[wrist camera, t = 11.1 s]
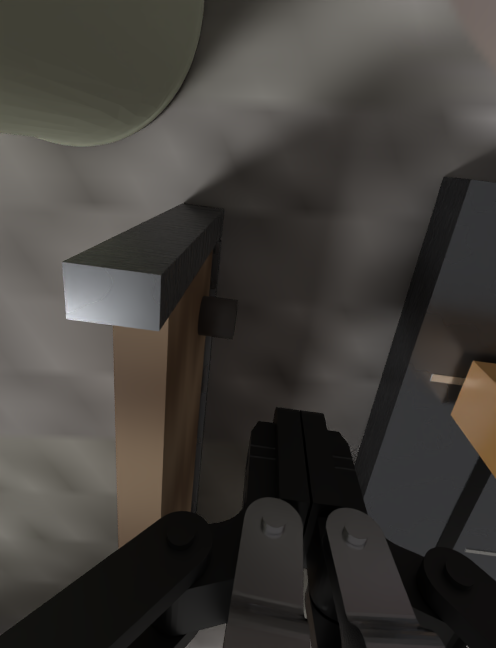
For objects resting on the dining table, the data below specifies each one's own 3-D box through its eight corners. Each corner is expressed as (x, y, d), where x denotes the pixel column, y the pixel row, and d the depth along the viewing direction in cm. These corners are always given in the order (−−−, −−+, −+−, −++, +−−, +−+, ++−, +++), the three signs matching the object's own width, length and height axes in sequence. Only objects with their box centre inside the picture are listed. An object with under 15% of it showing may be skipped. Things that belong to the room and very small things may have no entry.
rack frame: (195, 556, 22) (143, 832, 13) (161, 551, 22) (86, 825, 13) (229, 209, 14) (155, 298, 5) (177, 202, 14) (10, 278, 5)
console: (484, 571, 21) (505, 610, 20) (327, 550, 21) (333, 587, 20) (694, 210, 13) (762, 218, 12) (443, 176, 13) (471, 179, 12)
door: (210, 542, 21) (184, 704, 14) (166, 536, 21) (122, 696, 14) (244, 253, 14) (224, 325, 8) (181, 245, 14) (112, 310, 8)
